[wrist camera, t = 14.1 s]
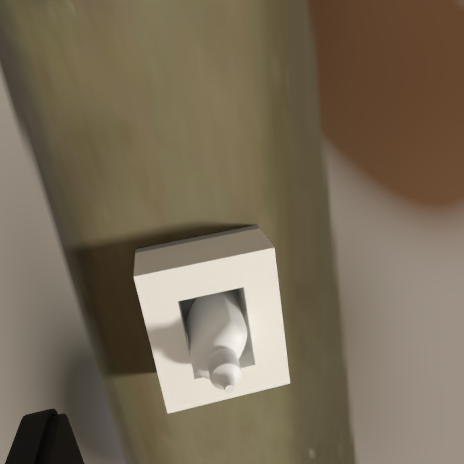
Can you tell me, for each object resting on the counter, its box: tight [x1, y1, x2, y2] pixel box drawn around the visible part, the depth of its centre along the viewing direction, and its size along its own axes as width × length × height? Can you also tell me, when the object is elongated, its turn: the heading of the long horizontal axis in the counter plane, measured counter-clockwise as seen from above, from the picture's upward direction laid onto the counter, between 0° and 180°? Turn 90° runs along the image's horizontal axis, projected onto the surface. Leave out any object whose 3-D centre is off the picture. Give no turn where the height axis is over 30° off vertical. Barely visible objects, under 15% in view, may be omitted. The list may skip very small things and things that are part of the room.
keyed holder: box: [133, 225, 290, 414], centre depth 40 cm, size 14×12×6 cm
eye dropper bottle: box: [186, 290, 247, 393], centre depth 36 cm, size 4×6×12 cm
